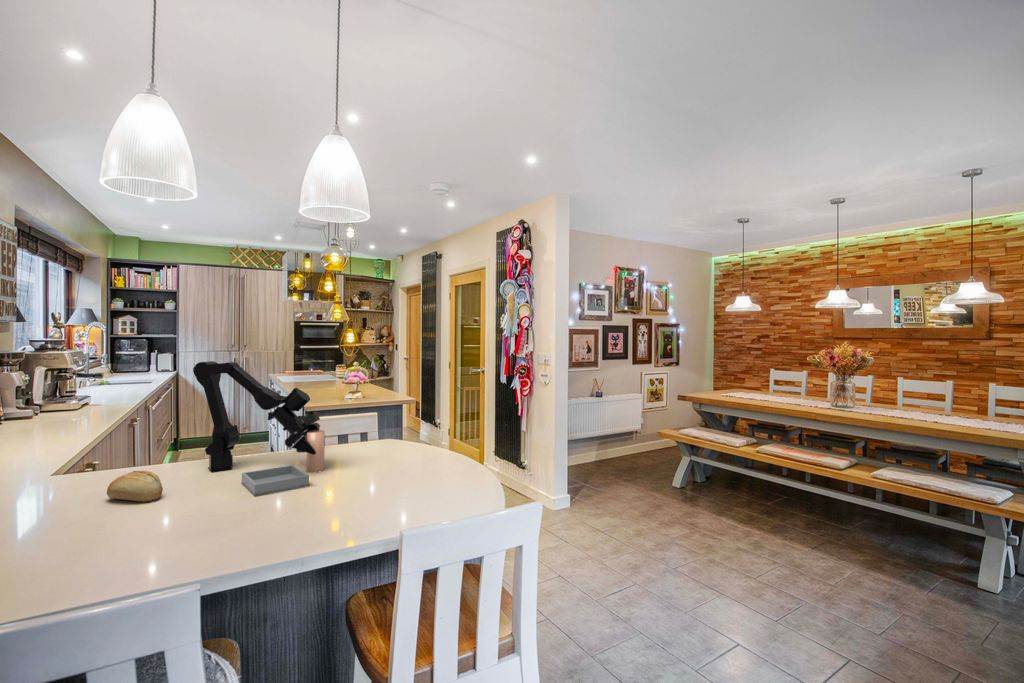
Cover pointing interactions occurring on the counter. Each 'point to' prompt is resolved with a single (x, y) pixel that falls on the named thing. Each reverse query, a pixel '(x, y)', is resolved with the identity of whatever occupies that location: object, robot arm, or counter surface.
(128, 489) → the bread roll
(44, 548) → the counter surface
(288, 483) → the tray
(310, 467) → the canister
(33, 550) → the counter surface
